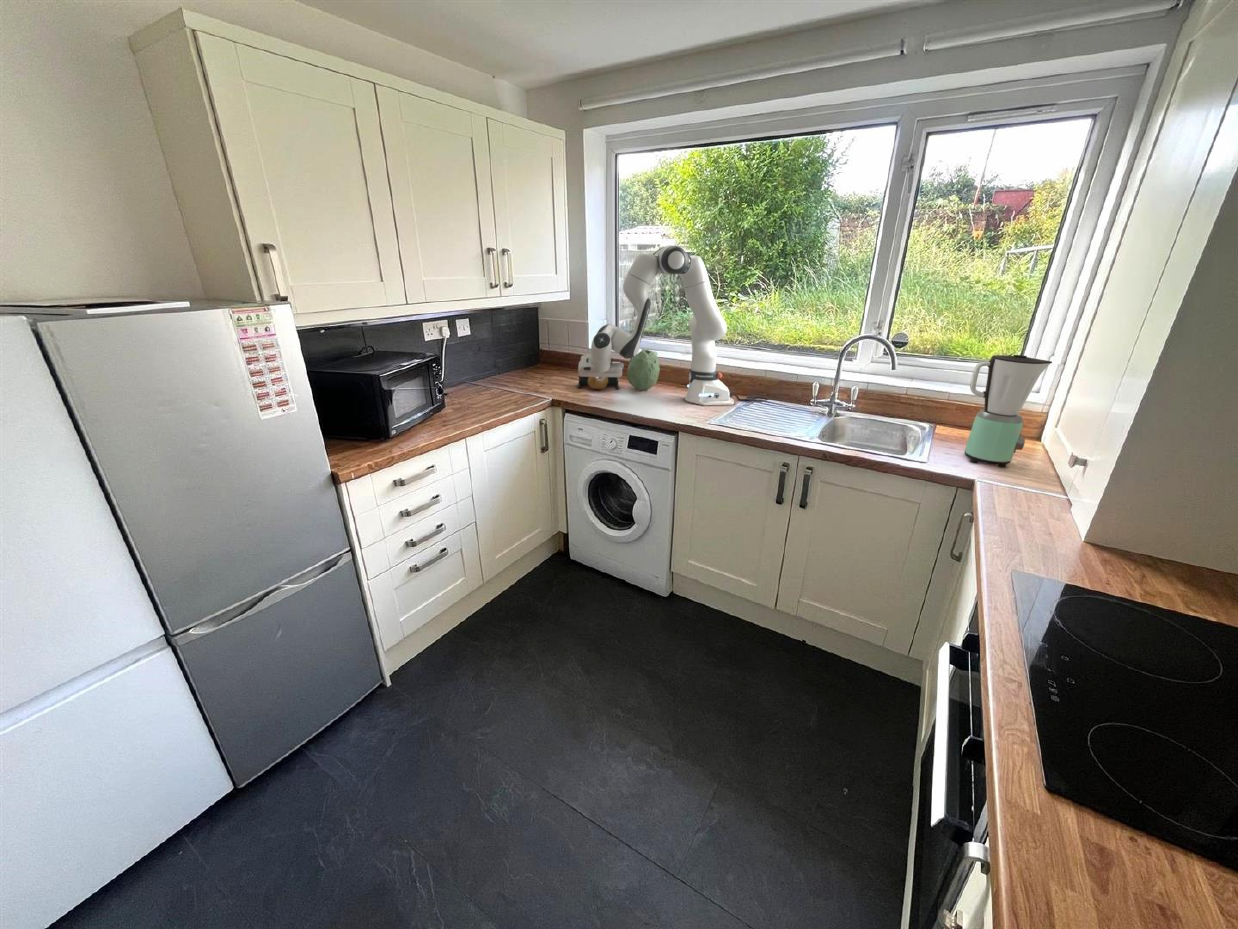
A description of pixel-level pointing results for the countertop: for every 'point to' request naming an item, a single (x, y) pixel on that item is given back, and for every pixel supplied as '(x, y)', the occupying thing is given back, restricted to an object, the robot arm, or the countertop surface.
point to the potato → (597, 383)
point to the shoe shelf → (611, 382)
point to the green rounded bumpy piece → (643, 370)
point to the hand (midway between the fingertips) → (599, 379)
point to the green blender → (1002, 407)
